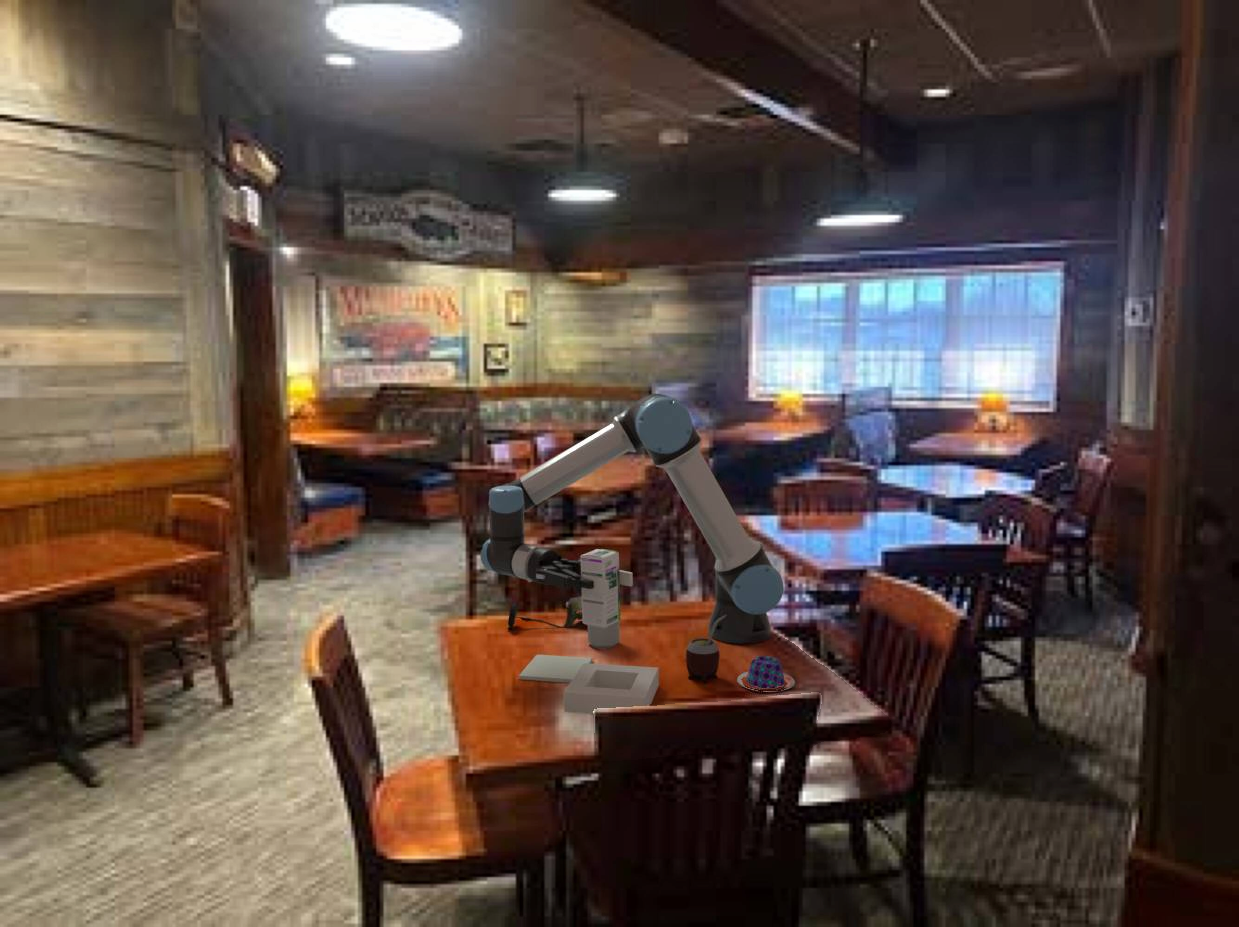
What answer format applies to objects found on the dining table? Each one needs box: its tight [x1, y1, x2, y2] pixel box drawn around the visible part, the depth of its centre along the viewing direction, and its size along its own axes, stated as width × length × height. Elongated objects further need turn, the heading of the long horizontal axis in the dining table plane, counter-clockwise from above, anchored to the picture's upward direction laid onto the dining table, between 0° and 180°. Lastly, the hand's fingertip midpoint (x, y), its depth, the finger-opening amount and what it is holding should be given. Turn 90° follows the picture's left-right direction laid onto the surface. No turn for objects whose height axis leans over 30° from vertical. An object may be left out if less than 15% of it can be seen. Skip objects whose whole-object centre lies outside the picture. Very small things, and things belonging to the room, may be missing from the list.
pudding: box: [736, 655, 796, 693], centre depth 188 cm, size 12×12×5 cm
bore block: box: [563, 662, 659, 715], centre depth 181 cm, size 16×16×4 cm
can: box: [587, 621, 620, 649], centre depth 212 cm, size 8×8×12 cm
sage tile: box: [518, 654, 593, 684], centre depth 197 cm, size 13×13×1 cm
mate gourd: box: [685, 615, 727, 685], centre depth 190 cm, size 8×8×15 cm
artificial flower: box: [507, 595, 583, 630], centre depth 227 cm, size 9×22×10 cm, turn 91°
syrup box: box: [579, 548, 621, 628], centre depth 180 cm, size 6×6×14 cm
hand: (619, 583), depth 176 cm, fingers closed on syrup box, 6 cm apart
